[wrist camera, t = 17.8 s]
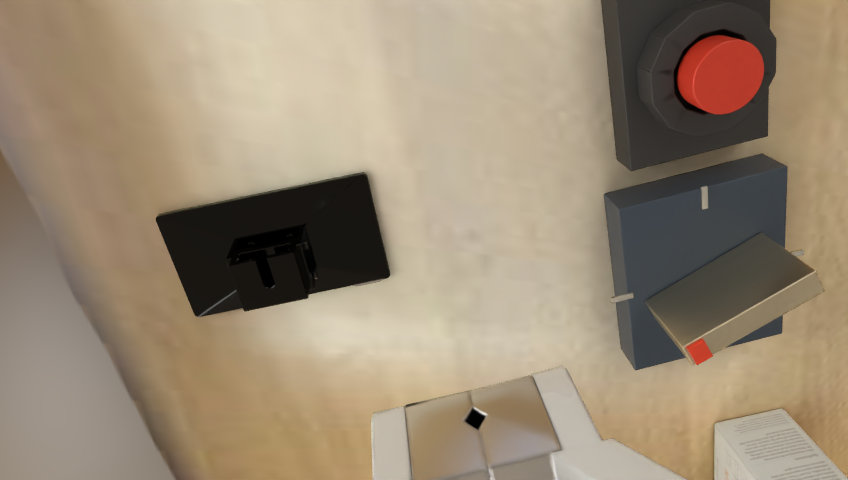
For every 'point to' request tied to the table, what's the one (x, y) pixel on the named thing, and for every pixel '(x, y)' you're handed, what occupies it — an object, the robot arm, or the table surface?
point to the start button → (720, 74)
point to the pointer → (733, 297)
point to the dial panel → (686, 240)
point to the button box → (657, 76)
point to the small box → (769, 450)
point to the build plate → (276, 245)
